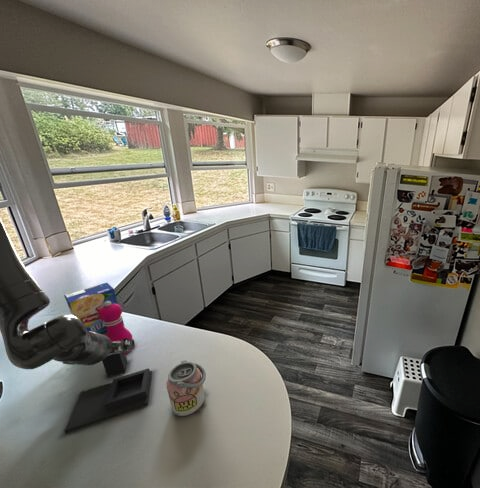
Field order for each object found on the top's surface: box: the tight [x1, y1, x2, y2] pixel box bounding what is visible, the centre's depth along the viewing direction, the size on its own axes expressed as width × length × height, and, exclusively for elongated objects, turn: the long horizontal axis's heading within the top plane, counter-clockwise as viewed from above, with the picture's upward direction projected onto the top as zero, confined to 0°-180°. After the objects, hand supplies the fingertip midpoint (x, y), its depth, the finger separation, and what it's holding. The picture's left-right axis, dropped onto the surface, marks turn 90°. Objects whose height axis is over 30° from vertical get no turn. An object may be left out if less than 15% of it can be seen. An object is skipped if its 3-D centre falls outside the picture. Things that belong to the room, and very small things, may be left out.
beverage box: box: [63, 282, 126, 336], centre depth 86 cm, size 7×11×22 cm, turn 144°
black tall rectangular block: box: [101, 340, 129, 378], centre depth 78 cm, size 5×5×9 cm
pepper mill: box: [98, 301, 133, 355], centre depth 84 cm, size 7×7×20 cm
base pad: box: [63, 368, 153, 434], centre depth 70 cm, size 17×12×4 cm
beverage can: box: [166, 359, 207, 417], centre depth 68 cm, size 9×8×12 cm
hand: (110, 353), depth 76 cm, fingers open, 8 cm apart
